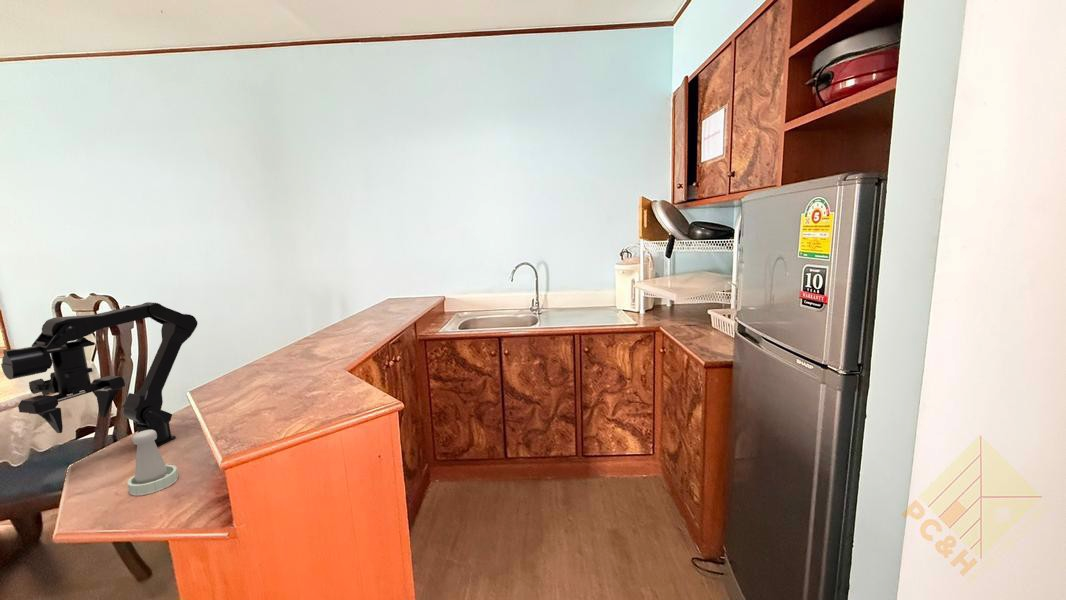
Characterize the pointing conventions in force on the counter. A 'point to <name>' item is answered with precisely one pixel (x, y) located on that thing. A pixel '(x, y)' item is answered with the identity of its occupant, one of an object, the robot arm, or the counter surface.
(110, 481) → the counter surface
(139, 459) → the salt shaker
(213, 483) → the counter surface
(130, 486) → the pale green shallow dish
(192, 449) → the counter surface
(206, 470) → the counter surface
